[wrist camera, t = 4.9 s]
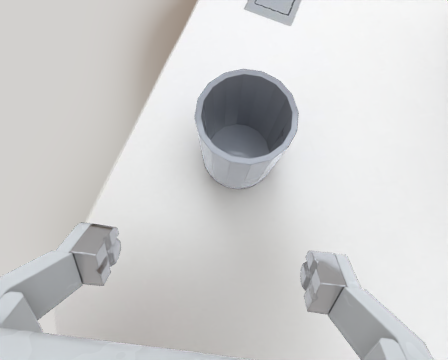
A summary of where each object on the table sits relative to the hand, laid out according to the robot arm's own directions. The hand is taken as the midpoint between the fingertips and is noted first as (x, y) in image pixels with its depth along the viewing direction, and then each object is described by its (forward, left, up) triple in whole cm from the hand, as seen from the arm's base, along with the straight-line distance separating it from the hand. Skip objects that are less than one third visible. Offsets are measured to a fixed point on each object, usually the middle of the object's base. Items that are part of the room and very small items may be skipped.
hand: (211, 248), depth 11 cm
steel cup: (+8, -1, -11) cm, 14 cm away
